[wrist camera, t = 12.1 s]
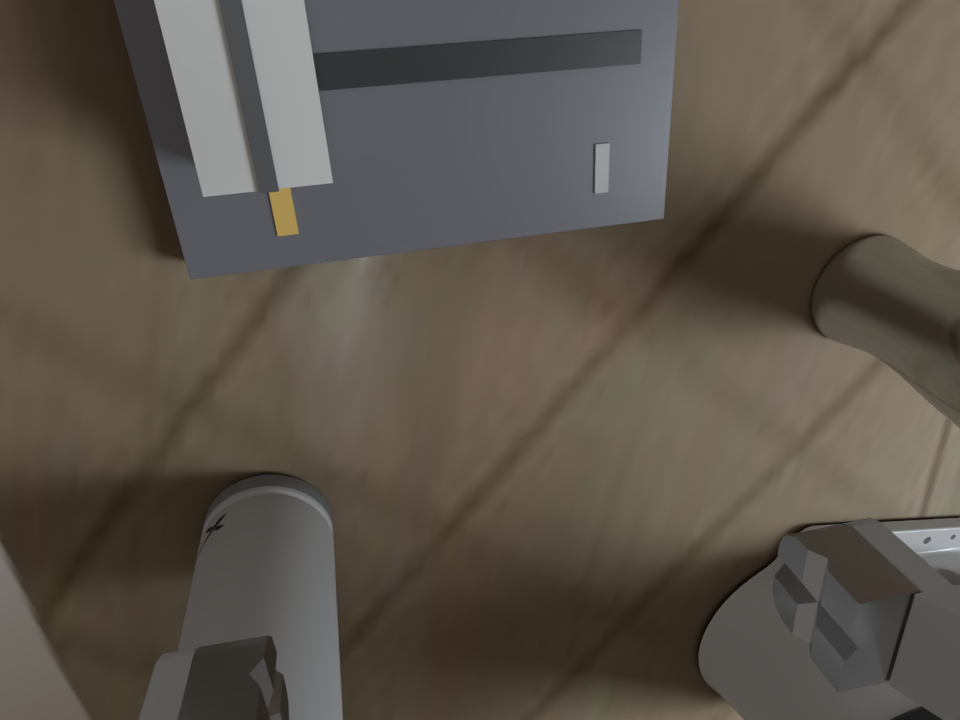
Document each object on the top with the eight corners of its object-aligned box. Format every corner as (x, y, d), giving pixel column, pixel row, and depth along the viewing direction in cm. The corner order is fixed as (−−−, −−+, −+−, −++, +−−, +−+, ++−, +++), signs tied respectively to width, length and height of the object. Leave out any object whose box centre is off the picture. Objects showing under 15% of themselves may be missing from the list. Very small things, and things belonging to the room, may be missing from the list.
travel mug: (180, 489, 32) (34, 1031, 15) (317, 459, 33) (328, 934, 16) (218, 582, 35) (133, 1125, 18) (343, 552, 36) (377, 1038, 19)
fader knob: (299, -26, 22) (298, -35, 19) (329, 161, 25) (333, 185, 21) (172, -20, 22) (146, -27, 18) (218, 173, 24) (203, 199, 21)
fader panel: (664, -166, 25) (692, -180, 23) (644, 207, 31) (664, 219, 30) (86, -153, 21) (65, -169, 20) (197, 263, 28) (189, 280, 26)
